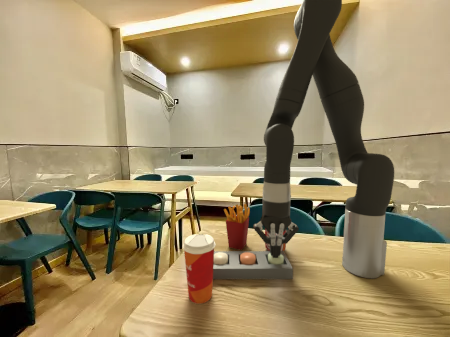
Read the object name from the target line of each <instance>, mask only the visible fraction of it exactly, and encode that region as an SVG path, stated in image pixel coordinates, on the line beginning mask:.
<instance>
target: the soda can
mask: <svg viewBox="0 0 450 337" xmlns="http://www.w3.org/2000/svg"><path fill="white" fill-rule="evenodd" d="M286 231H287V229H286V230H285V232H286ZM285 232H283V235H284V233H285ZM264 234H265V235H266V236H267V237H269V232H268V231H267V230H266V229H265V228H264ZM275 236H276V234H275ZM264 247H265V249H266V251H270V244H266V243H265V242H264ZM286 247H287V244H285V243H284V244H282V245H281V251H284V252H285V250H286Z"/></svg>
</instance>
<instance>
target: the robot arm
mask: <svg viewBox="0 0 450 337" xmlns="http://www.w3.org/2000/svg"><path fill="white" fill-rule="evenodd" d="M342 7H343V0H303V1H302V3H301V5H300V7H299V8H298V10H297V13H296V14H295V18H294V22H293V31H294V35H295V37H296V39H297V43H296V46H295V49H294V52H293V54H292V56H291V58H290V61H289V63H288V65H287V68H286V70H285V71H284V72H285V73H284V75H283V77H282V80H281V82H280V85H279V89H278V92H277V95H276V99H275V102H274V106H273V110H272V113H271V115H270V118H269V120H268V123H267V126H266V127H265V128H266V129H265V131H264V134H263V143H264V145H265V148H266V150H265V151H266V154H265V160H266V161H265V163H264V168H263V184H262V185H263V186H262V208H261V209H262V212H261V213H262V214H261V217H260V219H259V220H260V221H258V222H257V223H254V224H253V225H252V226H253V229H254V231H255V232H256V233H257V235H258V236H259V237H260V239H261V240H262V241H263V243H264V244H265V243H266V244H270V254H271V256H273V258H278V256H280V254H281V245H282V244H284V243H285V244H286V245H287V244H288V243H289V242H290V241H291V239H292V238H293V237H294V236H295V235H296V233H297V232H299V229H300V228H299V227H298V225H297V224H296V223H294V222H292V218H291V198H292V192H291V191H292V190H291V188H292V187H291V163H292V158H293V154H294V149H295V148H294V147H295V134H294V132H293V130H292V129H293V126H294V123H295V122H296V119H297V117H299V115H300V114H301V112H302V108H303V105H304V102H305V99H306V96H307V93H308V90H309V87H310V84H311V81H312V77H313V81H314V83H315V86H316V89H317V92H318V94H319V95H318V96H319V99H320V102H321V106H322V108H323V111H324V114H325V115H326V118H327V121H328V125H329V127H330V130H331V134H332V135H333V139H334V142H335V144H336V150H337V154H338V159H339V163H340V169H341V172H342V175H343V176H344V178H345V179H346V180H347V181H348V182H349V183H351V184H353V185H356V190H355V195H354V196H350V197H348V198H347V199H346V200H345V208H344V209H345V210H344V227H343V244H342V257H341V258H342V262H341V263H342V266H343V268H344V269H345V270H346V271H348V272H349V273H350V274H352V275H355V276H357V277H362V278H366V279H377V278H379V277H380V276H384V275H385V271H386V270H385V268H386V259H387V247H388V246H387V245H388V243H387V240H385V239H384V235H385V226H386V225H385V222H386V215H387V209H388V206H389V205H390V203H391V200H392V194H393V186H394V181H395V166H394V164H393V161H392V160H391V159H390V157H389V156H387V155H386V154H381V153H372V152H371V153H369V152H368V151H367V149H366V146H365V143H364V141H363V137H362V123H363V118H364V111H365V99H364V95H363V92H362V89H361V86H360V83H359V80H358V78H357V75H356V74H355V72H354V71H352V69H351V68H350V67H349V66H348V65H347V64H346V63H345V61H343V60H342V59H341V58H340V57H339V55H338V54H337V53H336V50H335V47H334V44H333V41H332V39H331V32H332V29H333V28H334V26H335V24H336V22H337V20H338V18H339V16H340V13H341V11H342ZM263 228H264V230H265V229H266V230H267V231H268V232H269V237H267V236H266V235H265V231H263ZM285 230H286V232H285ZM283 232H285V233H284V235H283ZM275 234H276V236H275Z"/></svg>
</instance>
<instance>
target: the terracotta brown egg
mask: <svg viewBox="0 0 450 337" xmlns="http://www.w3.org/2000/svg"><path fill="white" fill-rule="evenodd" d="M248 264H256V256H255V255H254V254H253V253H249V252H245V253H242V254H241V255H240V264H239V265H248Z"/></svg>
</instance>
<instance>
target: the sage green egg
mask: <svg viewBox="0 0 450 337" xmlns="http://www.w3.org/2000/svg"><path fill="white" fill-rule="evenodd" d="M268 264H284V256H283V255H282V254H280V256H278V258H273V256H271V254H270V253H269V254H268Z"/></svg>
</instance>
